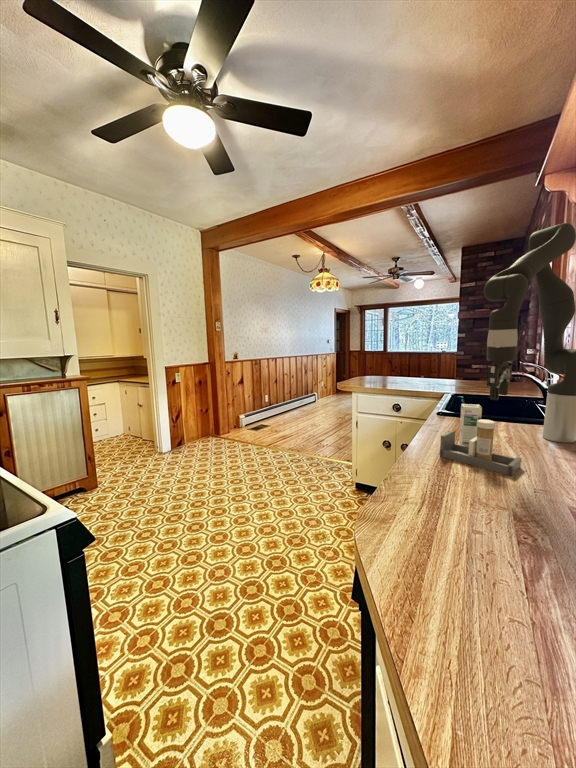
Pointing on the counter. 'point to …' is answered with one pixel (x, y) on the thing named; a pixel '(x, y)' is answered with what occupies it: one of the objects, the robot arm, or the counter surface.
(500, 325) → the robot arm
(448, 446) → the grey slide rail frame
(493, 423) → the sprinkles bottle
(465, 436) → the syrup box
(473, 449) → the pusher plate
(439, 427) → the counter surface
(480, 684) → the counter surface
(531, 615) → the counter surface
